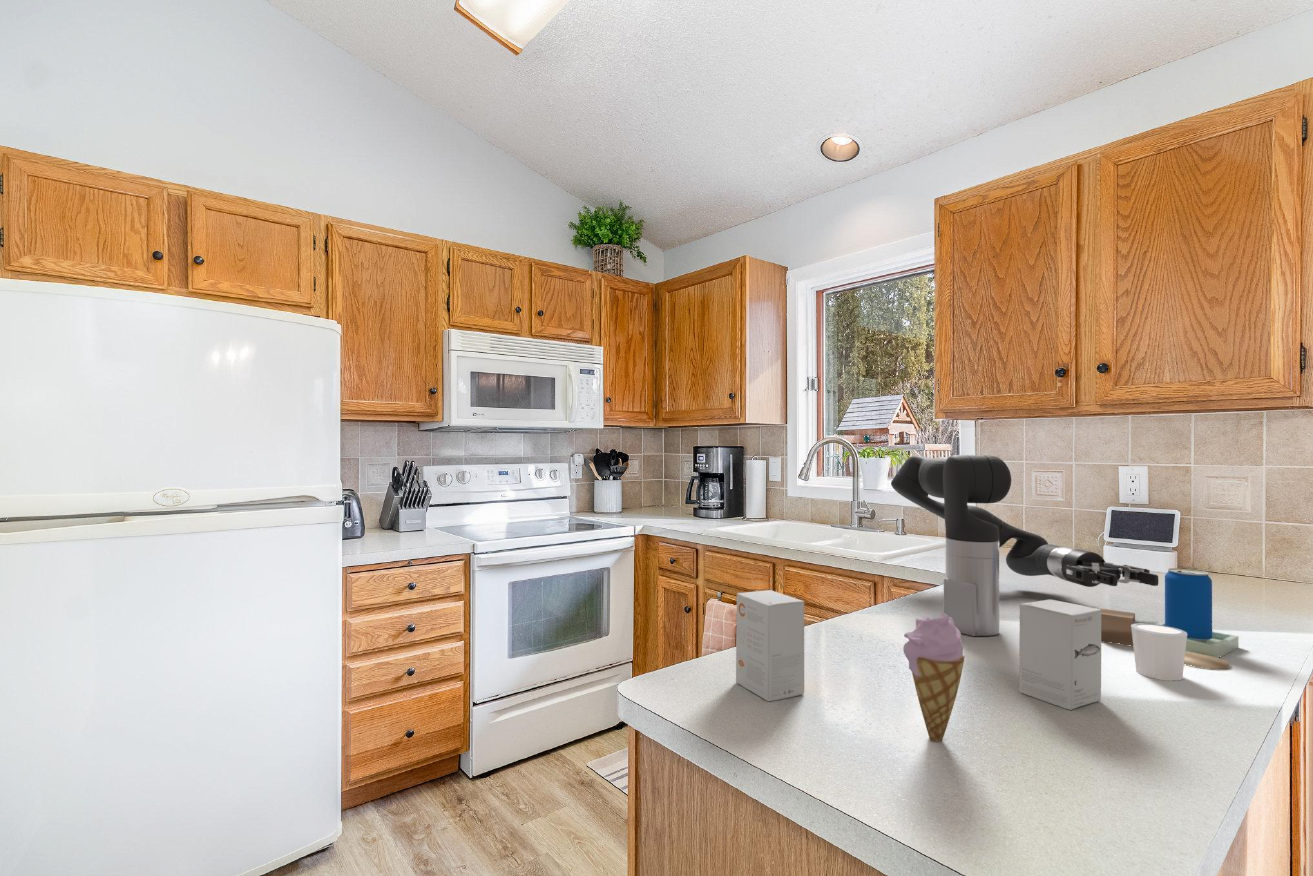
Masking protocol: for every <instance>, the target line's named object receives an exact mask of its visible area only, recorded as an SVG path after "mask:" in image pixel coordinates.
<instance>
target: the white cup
mask: <svg viewBox="0 0 1313 876" xmlns="http://www.w3.org/2000/svg"><path fill="white" fill-rule="evenodd" d="M1156 624H1157V623H1145V622H1144V623H1143V622H1142V623H1135V624H1132V625H1131V629H1132V638H1133V647H1132V648H1133V653H1134V654H1133V655H1134V663H1135V672H1136V673H1138V674H1139V675H1141V674H1142V676H1145V677H1147V676H1148V677H1147V678H1152V679H1154V678H1155V680H1162V681H1167V680H1179V681H1181V679H1182V680H1183V675H1184V667H1185V665H1184V659H1185V650H1186V641H1187V632H1185V631H1183V630H1180V629H1177V628H1173V627H1168V626H1163V625H1156Z"/></svg>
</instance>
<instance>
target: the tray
mask: <svg viewBox="0 0 1313 876" xmlns="http://www.w3.org/2000/svg"><path fill="white" fill-rule="evenodd" d="M1155 624H1156V625H1163V626H1165V621H1161V622H1157V623H1155ZM1239 645H1240V644H1239V635H1235V634H1229V633H1224V632H1219V631H1214V630H1212V639H1210V640H1207V642H1205V643H1203V642H1198V641H1194V640H1189V639H1187V641H1186V650H1185V651H1188V652H1195V653H1201V654H1206V655H1210V656H1214V657H1217V658H1219V657H1220V656H1222V657H1223V655H1224V656H1225V655H1227V654H1229V653H1231V652H1233V651H1235V650H1237V649H1239ZM1228 652H1229V653H1228ZM1220 658H1221V657H1220Z"/></svg>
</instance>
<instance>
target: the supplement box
mask: <svg viewBox="0 0 1313 876" xmlns="http://www.w3.org/2000/svg"><path fill="white" fill-rule="evenodd" d="M1018 643H1019V644H1018V645H1019V647H1018V649H1019V659H1018V661H1019V663H1018V668H1019V669H1018V675H1019V677H1018V678H1019V679H1018V681H1019V682H1018V685H1019V686H1018V691H1019V693H1021V694H1023V695H1026V696H1029V697H1032V698H1035V699H1037V700H1041V701H1043V702H1046V703H1049V704H1051V705H1055V706H1056V707H1060V708H1062V709H1065V710H1070V711H1072V710H1075V709H1076V708H1080V707H1082V706H1085V705H1090V704H1093V703H1098V702H1100V701H1102V641H1101V608H1096V607H1095V608H1094V607H1091V606H1087V605H1081V604H1077V603H1071V602H1065V601H1060V600H1056V599H1044V600H1043V599H1042V600H1038V601H1032V602H1025V603H1020V604H1019V642H1018Z"/></svg>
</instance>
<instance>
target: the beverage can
mask: <svg viewBox="0 0 1313 876" xmlns="http://www.w3.org/2000/svg"><path fill="white" fill-rule="evenodd" d="M1164 622H1165V626H1168V627H1173V628H1177V629H1180V630H1183V631H1185V632H1187V639H1189V640H1194V641H1198V642H1203V643H1205V642H1207V640H1210V639H1212V631H1213V581H1212V579H1211V577H1210V576H1209V572H1207V571H1204V570H1199V569H1191V568H1179V567H1170V568H1167V572H1166V573H1165V575H1164Z"/></svg>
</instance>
